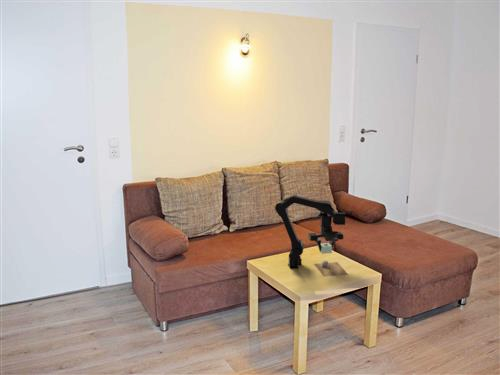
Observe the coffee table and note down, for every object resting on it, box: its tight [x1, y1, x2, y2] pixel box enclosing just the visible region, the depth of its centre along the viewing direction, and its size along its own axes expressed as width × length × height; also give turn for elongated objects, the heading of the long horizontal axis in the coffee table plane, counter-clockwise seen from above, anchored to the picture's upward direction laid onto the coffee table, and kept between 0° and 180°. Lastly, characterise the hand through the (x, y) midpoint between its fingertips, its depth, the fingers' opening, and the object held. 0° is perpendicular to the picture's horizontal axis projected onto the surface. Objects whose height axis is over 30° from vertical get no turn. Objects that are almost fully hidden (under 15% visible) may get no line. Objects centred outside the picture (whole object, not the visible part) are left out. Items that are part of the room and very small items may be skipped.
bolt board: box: [313, 260, 349, 277], centre depth 247 cm, size 14×18×4 cm
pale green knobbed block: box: [319, 242, 333, 255], centre depth 248 cm, size 6×6×4 cm
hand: (325, 250), depth 249 cm, fingers closed on pale green knobbed block, 6 cm apart
